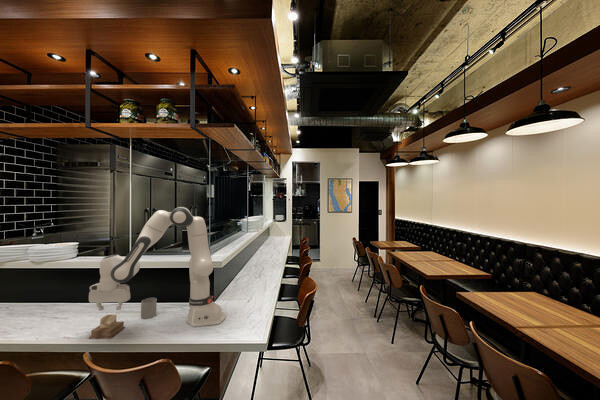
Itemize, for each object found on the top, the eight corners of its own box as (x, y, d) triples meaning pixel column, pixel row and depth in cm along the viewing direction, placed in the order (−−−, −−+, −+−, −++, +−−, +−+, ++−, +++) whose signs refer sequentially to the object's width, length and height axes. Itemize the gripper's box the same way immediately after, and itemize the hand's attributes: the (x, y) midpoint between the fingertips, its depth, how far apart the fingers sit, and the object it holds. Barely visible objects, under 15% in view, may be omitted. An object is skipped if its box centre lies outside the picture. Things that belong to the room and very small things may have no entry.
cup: (138, 319, 149) (139, 303, 150) (143, 314, 157) (143, 298, 158) (154, 318, 152) (154, 301, 152) (158, 312, 160) (158, 297, 160)
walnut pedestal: (125, 328, 139) (125, 320, 139) (111, 338, 128) (111, 330, 128) (105, 328, 138) (105, 321, 139) (88, 338, 127) (89, 331, 127)
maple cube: (116, 323, 136) (116, 314, 136) (109, 328, 131) (110, 318, 131) (107, 323, 136) (107, 314, 136) (100, 328, 131) (100, 318, 131)
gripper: (132, 282, 138) (133, 306, 137) (95, 283, 137) (95, 308, 137) (125, 286, 131) (125, 311, 131) (86, 287, 131) (86, 313, 130)
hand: (110, 309), depth 134 cm, fingers open, 8 cm apart
